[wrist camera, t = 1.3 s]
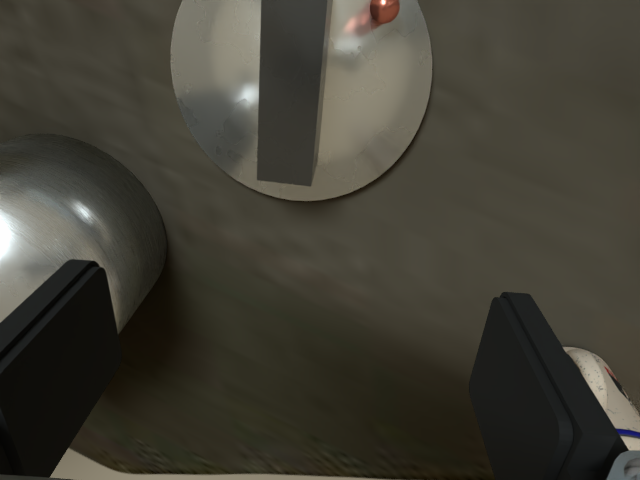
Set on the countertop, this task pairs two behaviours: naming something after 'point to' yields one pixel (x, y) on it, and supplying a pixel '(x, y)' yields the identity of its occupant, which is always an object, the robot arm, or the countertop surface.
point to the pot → (75, 221)
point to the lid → (302, 89)
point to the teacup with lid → (609, 395)
